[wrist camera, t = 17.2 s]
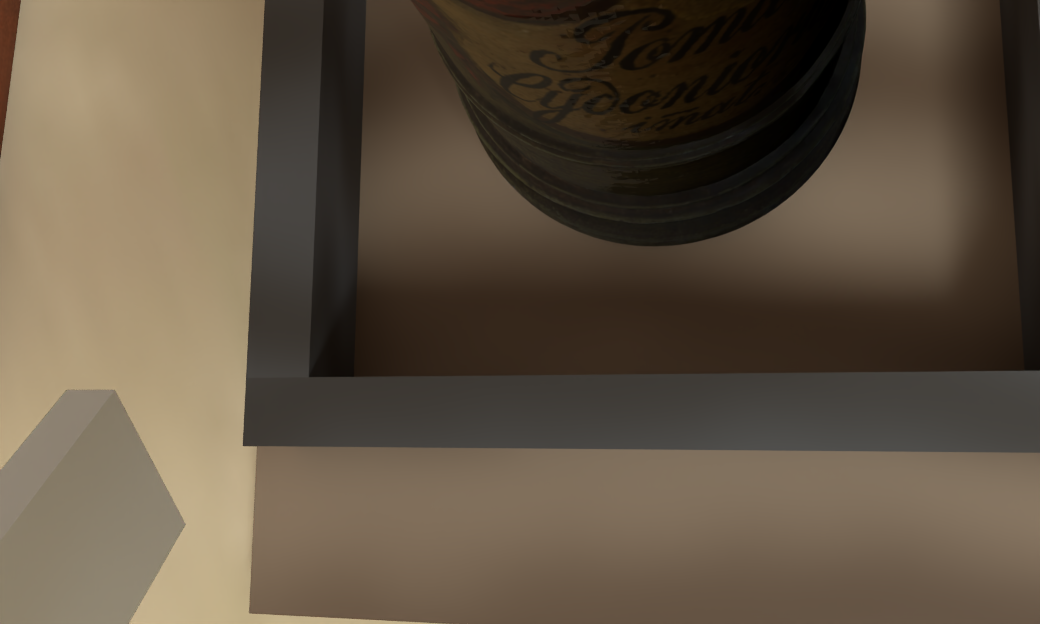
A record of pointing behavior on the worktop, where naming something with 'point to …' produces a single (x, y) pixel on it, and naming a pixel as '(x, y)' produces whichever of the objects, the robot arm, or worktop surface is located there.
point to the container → (653, 104)
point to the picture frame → (6, 53)
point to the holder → (646, 355)
